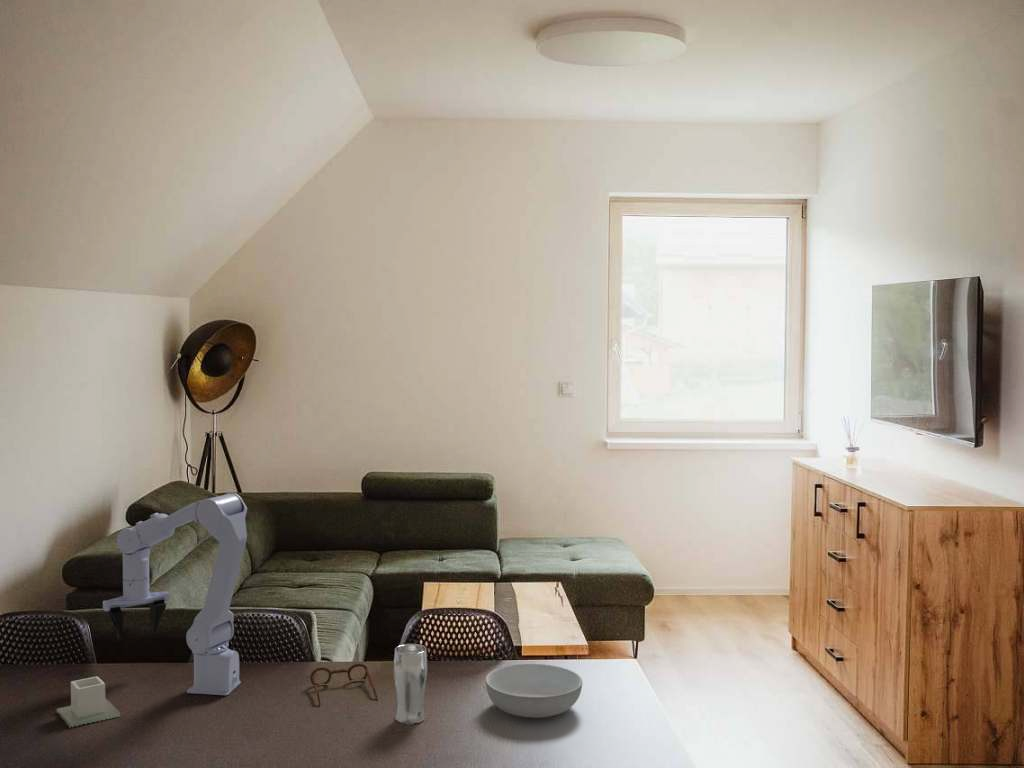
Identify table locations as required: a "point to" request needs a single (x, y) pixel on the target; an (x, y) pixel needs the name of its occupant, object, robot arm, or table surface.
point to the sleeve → (88, 696)
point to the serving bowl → (533, 689)
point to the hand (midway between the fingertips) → (136, 636)
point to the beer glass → (410, 682)
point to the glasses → (340, 672)
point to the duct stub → (75, 721)
